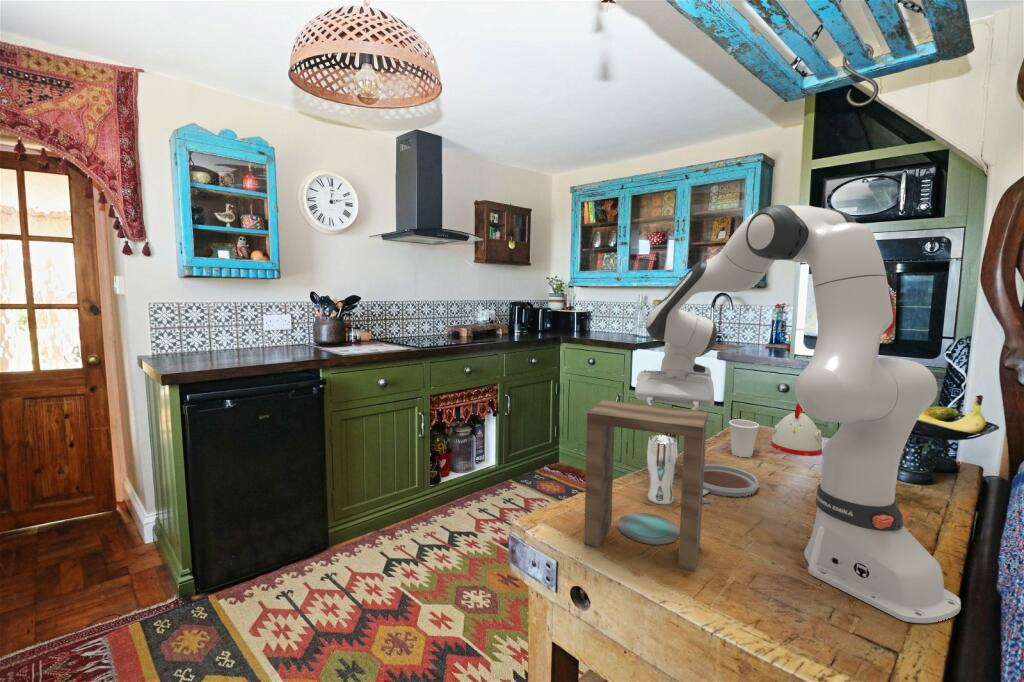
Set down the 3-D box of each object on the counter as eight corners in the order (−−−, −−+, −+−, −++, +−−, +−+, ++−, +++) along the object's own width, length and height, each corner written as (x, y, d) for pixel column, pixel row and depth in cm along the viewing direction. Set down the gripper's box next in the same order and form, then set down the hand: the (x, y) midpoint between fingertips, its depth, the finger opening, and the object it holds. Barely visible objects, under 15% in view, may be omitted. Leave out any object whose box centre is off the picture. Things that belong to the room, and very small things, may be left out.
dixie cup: (746, 461, 142) (748, 428, 141) (721, 452, 149) (723, 421, 148) (762, 456, 146) (765, 424, 145) (737, 448, 153) (739, 417, 152)
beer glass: (678, 497, 118) (681, 438, 116) (671, 508, 112) (674, 446, 110) (650, 490, 122) (652, 433, 120) (641, 500, 116) (644, 440, 114)
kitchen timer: (766, 449, 153) (770, 403, 151) (776, 438, 163) (779, 395, 162) (818, 459, 144) (822, 410, 142) (824, 447, 155) (828, 402, 153)
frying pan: (651, 485, 120) (709, 458, 137) (651, 496, 120) (708, 467, 138) (717, 510, 107) (771, 476, 124) (716, 523, 107) (770, 487, 125)
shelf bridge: (607, 506, 113) (611, 393, 110) (703, 525, 104) (710, 404, 101) (584, 543, 96) (587, 413, 93) (695, 571, 87) (702, 427, 84)
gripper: (637, 363, 135) (629, 404, 128) (716, 368, 126) (712, 413, 119) (640, 376, 140) (632, 416, 132) (716, 382, 131) (712, 426, 123)
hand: (670, 415), depth 125 cm, fingers open, 8 cm apart
